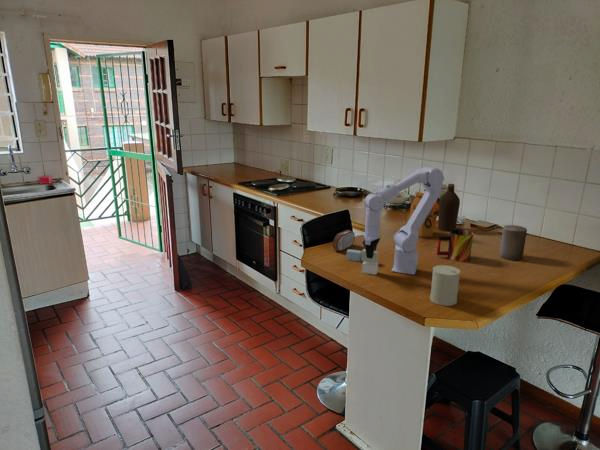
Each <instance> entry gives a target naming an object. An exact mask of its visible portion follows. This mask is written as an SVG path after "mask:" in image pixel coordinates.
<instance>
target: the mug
mask: <svg viewBox="0 0 600 450" xmlns="http://www.w3.org/2000/svg"><path fill="white" fill-rule="evenodd" d="M473 238H474V232H472V231H471V230H467V229H463V228H462V229H461V228H456V229H453V230H451V231H449V235H438V240H437V247H436V256H446V257H447V258H448V259H449V260H451V261H454V262H460V263H461V262H463V263H465V262H469V261H470V260H471V256H472V247H473V246H472V245H473ZM442 241H448V247H447V251H443V250H442V251H440V250H441V243H442Z"/></svg>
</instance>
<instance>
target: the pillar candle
mask: <svg viewBox="0 0 600 450" xmlns="http://www.w3.org/2000/svg"><path fill="white" fill-rule="evenodd" d="M527 232H528V229H527V228H526V227H524V226H522V225H521V226H520V225H513V224H507V225H504V226H503V227H502V233H501V234H502V235H501V241H500V249H499V257H500V258H503V259H506V260H510V261H522V260H523V259H524V252H525V247H526V246H525V245H526V238H527Z"/></svg>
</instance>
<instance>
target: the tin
mask: <svg viewBox="0 0 600 450" xmlns="http://www.w3.org/2000/svg"><path fill="white" fill-rule="evenodd" d="M355 235H356V234H355V232H354V231H352V230H350V229H346V230H343V231H340V232H339V233H337V234H336V235H335V237H334V239H333V241H332V247H333V249H334V250H335V251H338V252H342V251H344V250H348V249H349V248H350V247H352V246H353V244H354V242H355Z"/></svg>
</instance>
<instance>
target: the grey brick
mask: <svg viewBox="0 0 600 450" xmlns="http://www.w3.org/2000/svg"><path fill="white" fill-rule="evenodd" d="M362 273H363V274H368V275H374V276H375V275H377V274H378V273H379V263H378V262H376V263H372V262H365V261H364V262H363V263H361V274H362Z"/></svg>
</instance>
